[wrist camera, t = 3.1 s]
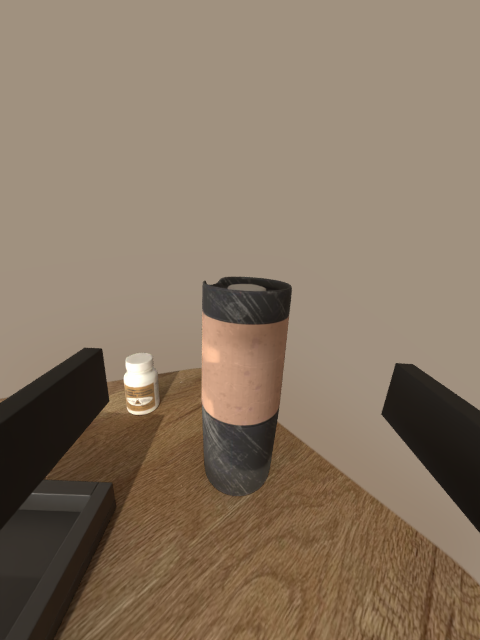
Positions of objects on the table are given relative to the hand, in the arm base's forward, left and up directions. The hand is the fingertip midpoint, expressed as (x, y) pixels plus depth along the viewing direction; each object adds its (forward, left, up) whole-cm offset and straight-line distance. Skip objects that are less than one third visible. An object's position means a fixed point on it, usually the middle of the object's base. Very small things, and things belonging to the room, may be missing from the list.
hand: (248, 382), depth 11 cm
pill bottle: (+14, -19, -17) cm, 29 cm away
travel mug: (0, -10, -17) cm, 20 cm away
